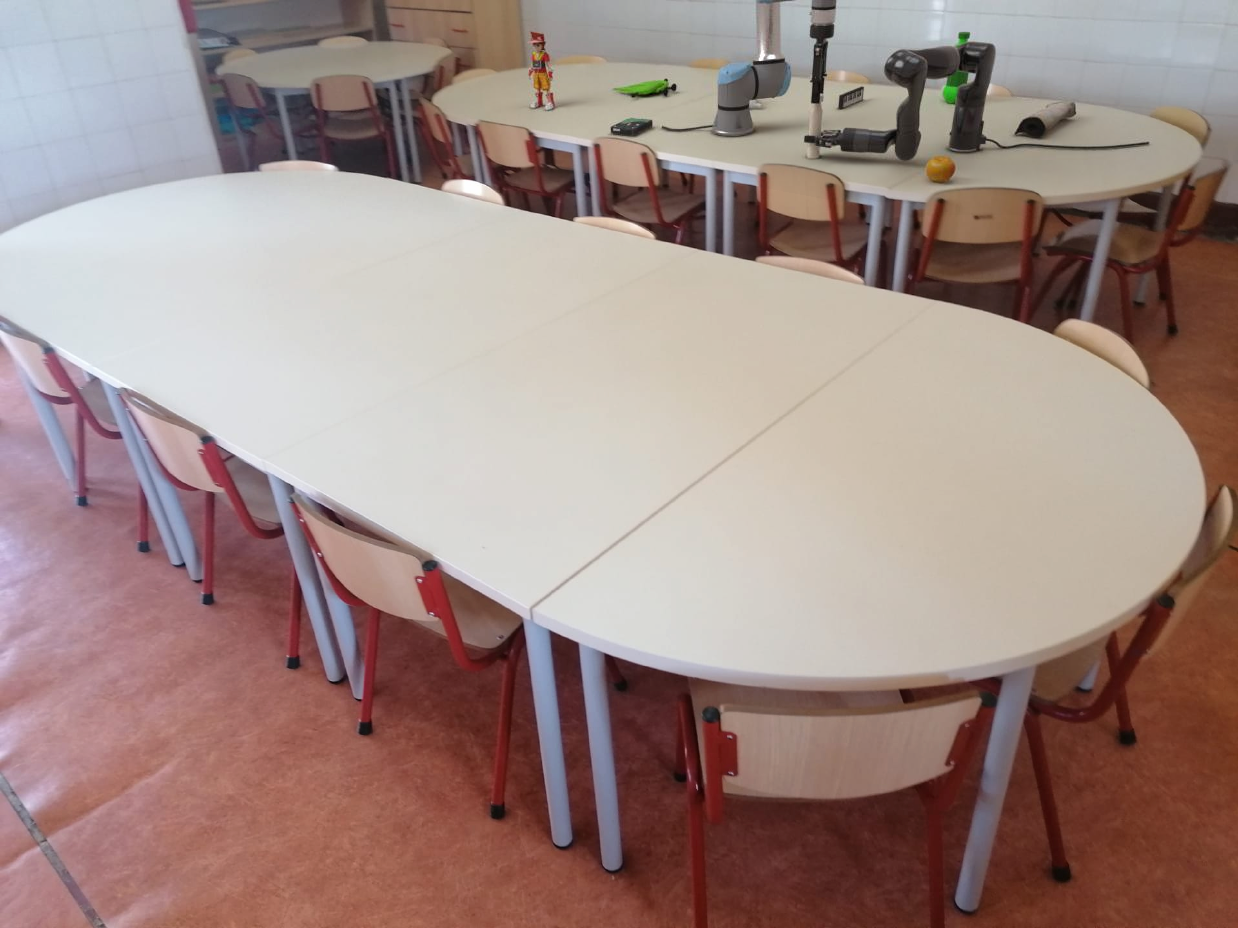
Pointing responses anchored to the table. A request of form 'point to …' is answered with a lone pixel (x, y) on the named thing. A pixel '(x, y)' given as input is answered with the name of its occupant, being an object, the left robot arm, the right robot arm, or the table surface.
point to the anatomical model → (754, 104)
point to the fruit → (940, 169)
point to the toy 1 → (541, 71)
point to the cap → (821, 97)
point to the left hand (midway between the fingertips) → (817, 100)
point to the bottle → (815, 129)
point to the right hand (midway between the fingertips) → (806, 137)
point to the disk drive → (631, 126)
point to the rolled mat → (1046, 118)
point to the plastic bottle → (956, 75)
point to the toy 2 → (648, 88)
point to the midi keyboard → (850, 97)
